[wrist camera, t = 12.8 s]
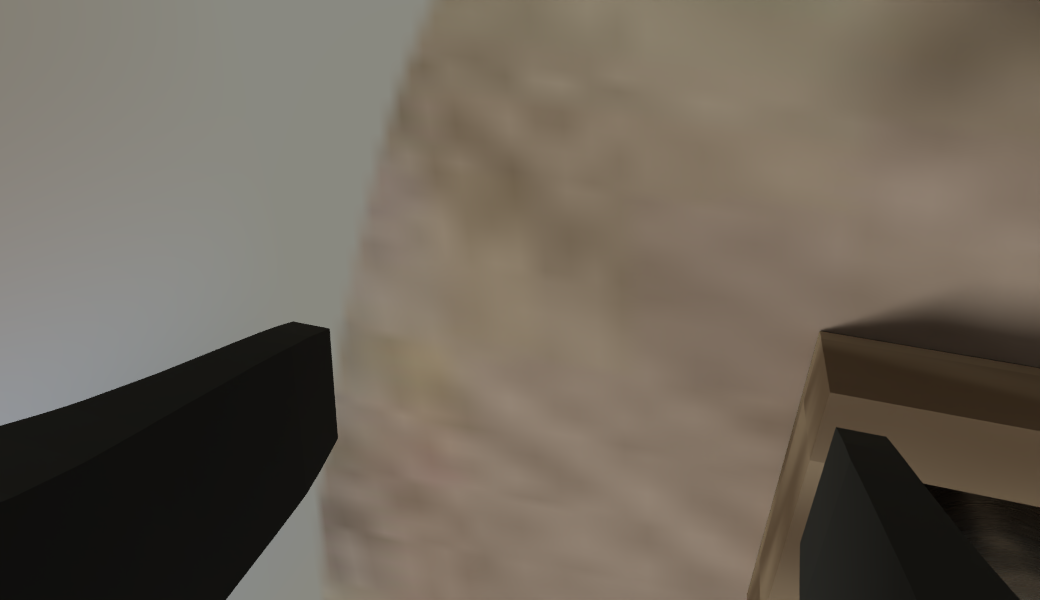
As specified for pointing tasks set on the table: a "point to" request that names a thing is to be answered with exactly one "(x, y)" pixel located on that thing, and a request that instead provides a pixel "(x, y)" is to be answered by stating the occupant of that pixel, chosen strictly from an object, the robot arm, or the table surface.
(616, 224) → the table surface
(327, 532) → the table surface
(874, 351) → the socket block
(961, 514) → the grey cylinder
